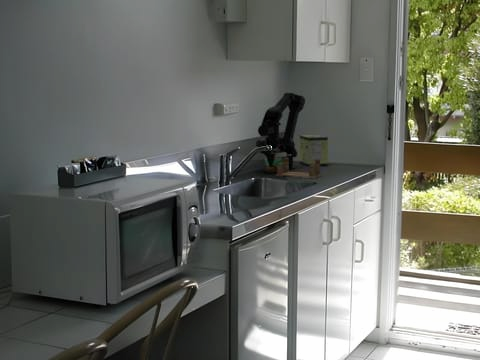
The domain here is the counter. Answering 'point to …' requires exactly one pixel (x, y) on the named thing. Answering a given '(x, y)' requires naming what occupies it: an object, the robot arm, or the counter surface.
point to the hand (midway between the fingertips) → (273, 166)
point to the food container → (275, 162)
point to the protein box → (313, 149)
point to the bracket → (284, 171)
